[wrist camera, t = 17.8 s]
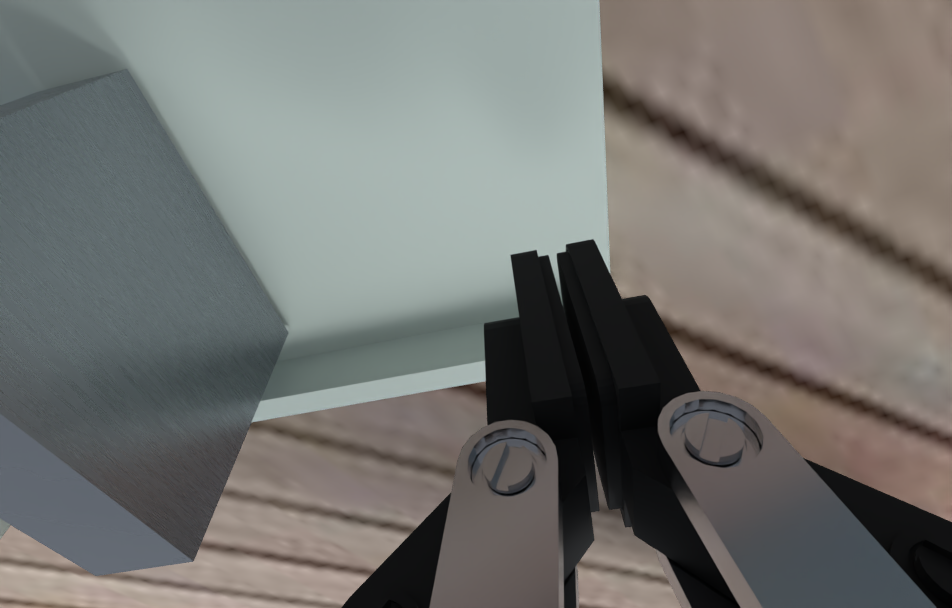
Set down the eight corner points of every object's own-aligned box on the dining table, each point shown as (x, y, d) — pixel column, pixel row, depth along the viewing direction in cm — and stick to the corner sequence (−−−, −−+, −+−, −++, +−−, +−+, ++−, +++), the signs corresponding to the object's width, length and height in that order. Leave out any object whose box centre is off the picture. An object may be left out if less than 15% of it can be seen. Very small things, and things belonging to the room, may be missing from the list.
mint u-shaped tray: (582, -200, 10) (1043, -700, 2) (606, 306, 18) (719, 570, 11) (-309, 57, 12) (-1656, 264, 4) (80, 404, 21) (-144, 683, 13)
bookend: (127, 68, 12) (-255, 218, 5) (288, 332, 17) (193, 561, 11) (37, 91, 12) (-430, 261, 6) (225, 345, 17) (95, 575, 11)
